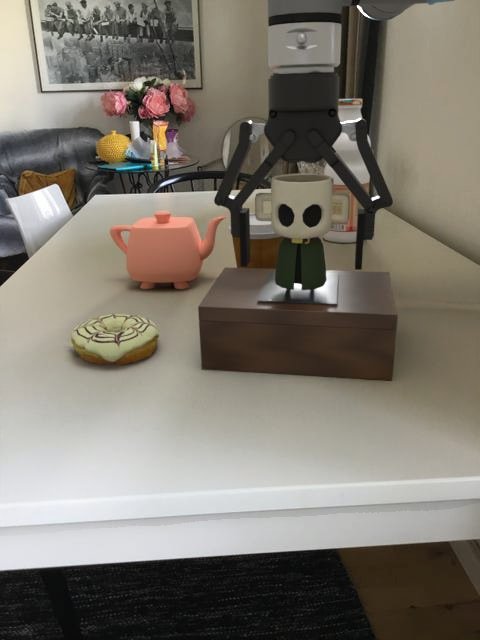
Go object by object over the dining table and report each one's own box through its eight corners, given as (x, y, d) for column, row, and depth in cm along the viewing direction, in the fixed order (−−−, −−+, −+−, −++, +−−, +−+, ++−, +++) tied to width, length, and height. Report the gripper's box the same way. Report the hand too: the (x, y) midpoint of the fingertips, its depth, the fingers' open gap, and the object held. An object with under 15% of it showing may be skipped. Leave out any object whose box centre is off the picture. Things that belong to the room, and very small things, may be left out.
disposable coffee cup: (246, 279, 98) (244, 210, 93) (298, 286, 94) (299, 214, 89) (220, 297, 90) (217, 222, 85) (275, 305, 86) (275, 227, 81)
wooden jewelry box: (384, 327, 77) (389, 270, 74) (392, 380, 63) (398, 312, 60) (226, 320, 81) (224, 265, 78) (201, 369, 67) (197, 304, 64)
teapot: (105, 292, 93) (97, 220, 89) (124, 270, 104) (117, 205, 100) (226, 292, 92) (223, 219, 87) (232, 270, 103) (230, 204, 98)
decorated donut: (118, 378, 66) (114, 348, 64) (56, 357, 71) (52, 329, 70) (175, 344, 74) (173, 318, 72) (116, 328, 79) (113, 303, 78)
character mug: (251, 294, 67) (248, 182, 62) (261, 275, 73) (259, 172, 68) (344, 298, 65) (350, 183, 60) (346, 278, 71) (351, 173, 66)
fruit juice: (325, 244, 118) (330, 100, 107) (318, 233, 126) (322, 99, 116) (370, 243, 118) (379, 98, 107) (360, 232, 126) (368, 97, 116)
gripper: (180, 74, 59) (192, 271, 67) (430, 66, 54) (411, 277, 62) (198, 75, 65) (207, 253, 74) (421, 68, 61) (405, 258, 69)
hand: (300, 265), depth 68 cm, fingers open, 13 cm apart
